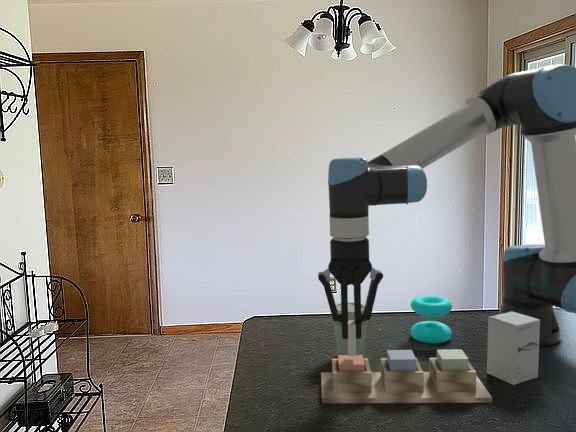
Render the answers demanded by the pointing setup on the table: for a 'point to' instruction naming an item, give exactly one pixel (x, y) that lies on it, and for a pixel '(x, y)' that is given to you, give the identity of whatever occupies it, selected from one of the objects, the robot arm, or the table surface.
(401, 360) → the slate button
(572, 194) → the robot arm
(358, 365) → the terracotta button
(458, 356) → the sage button
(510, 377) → the supplement box
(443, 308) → the donuts
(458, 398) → the button panel
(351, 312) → the coffee cup
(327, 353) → the table surface
